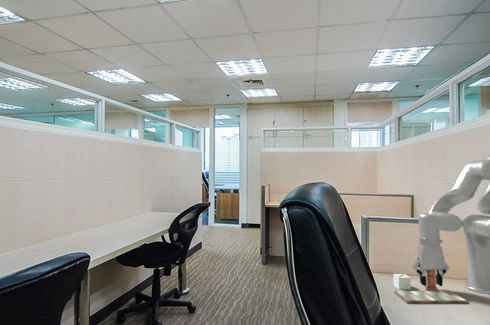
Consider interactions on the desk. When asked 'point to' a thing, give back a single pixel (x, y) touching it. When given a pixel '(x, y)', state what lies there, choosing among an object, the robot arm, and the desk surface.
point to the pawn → (431, 280)
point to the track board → (431, 297)
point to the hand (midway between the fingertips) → (431, 284)
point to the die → (402, 281)
